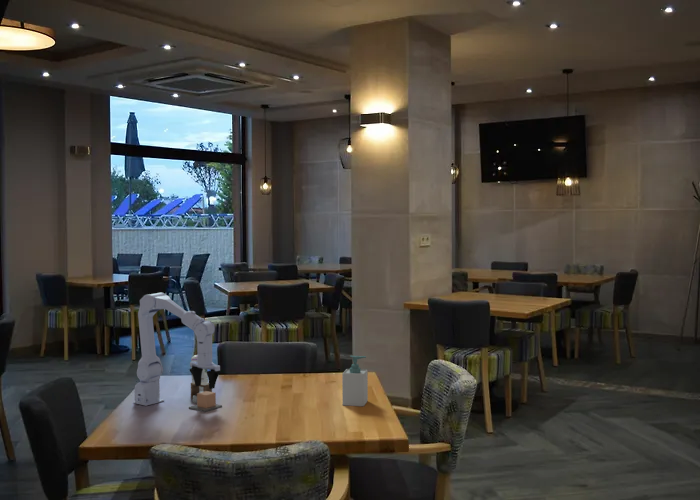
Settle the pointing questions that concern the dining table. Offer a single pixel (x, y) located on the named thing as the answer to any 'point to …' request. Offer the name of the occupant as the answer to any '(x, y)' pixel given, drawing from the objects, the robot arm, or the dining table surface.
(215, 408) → the coaster
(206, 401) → the block
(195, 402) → the silver square bar
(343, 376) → the soap bottle
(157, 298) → the robot arm
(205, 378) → the syrup box
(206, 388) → the bracket
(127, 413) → the dining table surface
